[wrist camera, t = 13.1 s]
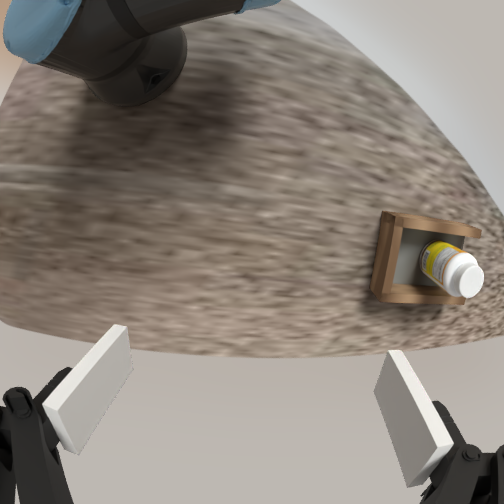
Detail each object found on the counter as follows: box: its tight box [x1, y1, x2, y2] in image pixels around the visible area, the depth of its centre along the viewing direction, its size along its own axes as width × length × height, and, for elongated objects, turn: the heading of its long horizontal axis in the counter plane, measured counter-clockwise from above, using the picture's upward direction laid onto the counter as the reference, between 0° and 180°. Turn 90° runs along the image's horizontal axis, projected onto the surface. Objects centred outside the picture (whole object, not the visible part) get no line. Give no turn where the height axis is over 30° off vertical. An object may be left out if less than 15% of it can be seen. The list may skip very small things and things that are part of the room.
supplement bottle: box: [420, 240, 484, 298], centre depth 33 cm, size 6×6×10 cm
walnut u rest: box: [370, 211, 482, 305], centre depth 36 cm, size 14×11×5 cm
